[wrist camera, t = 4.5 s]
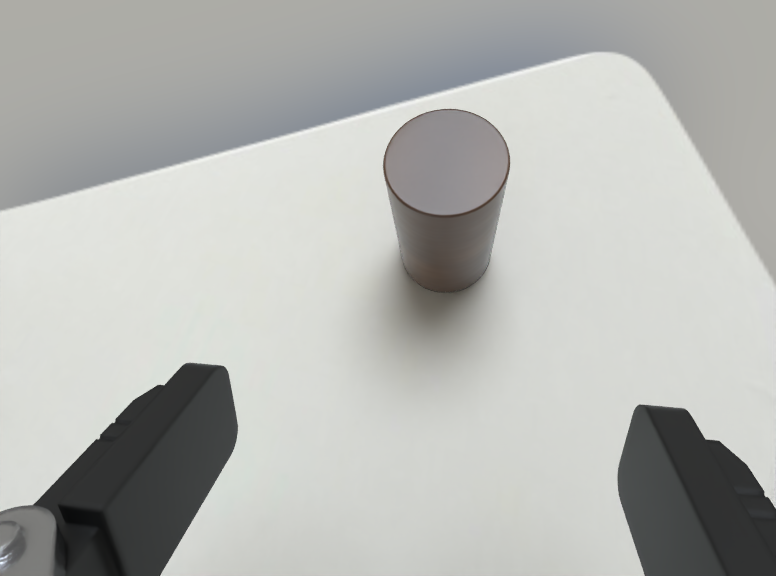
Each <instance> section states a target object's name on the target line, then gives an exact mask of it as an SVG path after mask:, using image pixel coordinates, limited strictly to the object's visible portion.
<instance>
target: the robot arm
mask: <svg viewBox="0 0 776 576" xmlns="http://www.w3.org/2000/svg"><path fill="white" fill-rule="evenodd" d="M237 433H238V424H237V417H236V412H235V406H234V401H233V395H232V390H231V384H230V379H229V374H228V371H227V369H226V368H225V367H224V366H220V365H208V364H197V363H186V364H184V365H183V366H182V367H181V368H180V369H179V370H178V371H177V372H176V373H175V374H174V375H173V377H172V378H171V379H170V380H169V381H168V382H167V383H166V384H165V385H157V386H156V387H154V388H153V389H151V390H149V391H148V392H146V393H144V394H143V395H141V396H140V397H138V398H136V399H135V400H133V401H132V402H131V403H130V405H129V406H128V407H127V408H126V409H125V410H124V411H123V412H122V413H121V414H120V415H119V416H118V417H117V418H116V421H115V423H111V424H110V425H109V426H108V428H107V429H106V430H105V431H104V432H103V433H102V434H101V435H100V439H99V440H98V439H96V440H95V441H94V442H93V443H92V444H91V445H90V446H89V447H88V448H87V450H86V451H85V452H84V453H83V454H82V455H81V456H80V457H79V458H78V459H77V460H76V461H75V462H74V463H73V464H72V465H71V466H70V467H69V468H68V469H67V470H66V471H65V473H64V474H63V475H62V476H61V477H60V478H59V479H58V480H57V481H56V482H55V483H54V484H53V485H52V486H51V487H50V488H49V489H48V490H47V491H46V492H45V493H44V494H43V496H42V497H41V498H40V499H39V500H38V501H37V502H36V503H35V504H34V505H29V506H20V507H14V508H11V509H7V510H4V511H2V512H0V576H160V575H161V573H162V571H163V569H164V568H165V566H166V564H167V563H168V561H169V559H170V558H171V556H172V554H173V553H174V551H175V549H176V547H177V546H178V544H179V542H180V541H181V539H182V537H183V536H184V534H185V532H186V530H187V529H188V527H189V525H190V524H191V522H192V520H193V519H194V517H195V515H196V513H197V512H198V510H199V508H200V507H201V505H202V503H203V502H204V500H205V498H206V496H207V495H208V493H209V491H210V490H211V488H212V486H213V485H214V483H215V481H216V480H217V478H218V476H219V474H220V473H221V471H222V469H223V468H224V466H225V464H226V463H227V461H228V459H229V457H230V456H231V454H232V452H233V449H234V447H235V443H236V439H237ZM618 491H619V496H620V501H621V504H622V507H623V510H624V513H625V516H626V519H627V522H628V525H629V528H630V531H631V534H632V537H633V540H634V544H635V547H636V550H637V553H638V556H639V559H640V562H641V565H642V568H643V571H644V574H645V576H776V509H775V507H774V506H773V504H772V503H771V501H770V499H769V498H768V497H765V496H764V490H763V489H762V487H761V486H760V484H759V483H758V481H757V480H756V478H755V477H754V475H753V474H752V472H751V471H750V469H749V468H748V466H747V465H746V464H745V463H744V462H743V461H742V460H741V459H739V458H738V457H737V456H736V455H735V454H734V453H732V452H731V451H730V450H729V449H728V448H727V447H725V446H724V445H723V444H722V443H721V442H720V441H715V440H705V438H704V437H703V435H702V433H701V431H700V430H699V428H698V426H697V425H696V423H695V421H694V420H693V418H692V416H691V415H690V413H689V412H688V411H687V410H686V409H683V408H673V407H662V406H651V405H638V406H637V407H636V408H635V410H634V413H633V416H632V420H631V423H630V427H629V430H628V434H627V438H626V441H625V445H624V449H623V452H622V456H621V459H620V463H619V468H618Z"/></svg>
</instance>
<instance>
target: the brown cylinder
mask: <svg viewBox="0 0 776 576" xmlns="http://www.w3.org/2000/svg"><path fill="white" fill-rule="evenodd" d="M383 170H384V177H385V181H386V186H387V191H388V195H389V200H390V205H391V209H392V214H393V218H394V223H395V228H396V232H397V237H398V241H399V246H400V251H401V255H402V260H403V264H404V266H405V269H406V270H407V272H408V274H409V275H410V276H411V278H412V279H413V280H414V281H416V282H417V283H418V284H419V285H421V286H423V287H425V288H427V289H429V290H432V291H436V292H455V291H459V290H462V289H465V288H467V287H469V286H471V285H472V284H473V283H475V282H476V281H477V280H478V279H479V278H480V277H481V276H482V275H483V273H484V272H485V270H486V268H487V266H488V264H489V260H490V256H491V251H492V247H493V242H494V238H495V233H496V229H497V224H498V220H499V215H500V211H501V206H502V202H503V197H504V193H505V188H506V184H507V179H508V175H509V170H510V155H509V150H508V147H507V144H506V142H505V140H504V138H503V137H502V135H501V134H500V132H499V131H498V130H497V129H496V128H495V127H494V126H493V125H492V124H491V123H490V122H488V121H487V120H486V119H484V118H482V117H480V116H478V115H476V114H474V113H471V112H467V111H463V110H457V109H441V110H434V111H430V112H426V113H424V114H421V115H419V116H417V117H415V118H413V119H411V120H410V121H408V122H407V123H405V124H404V125H403V126H402V127H401V128H400V129H399V130H398V131H397V132H396V133H395V134H394V136H393V137H392V139H391V140H390V142H389V144H388V146H387V149H386V152H385V155H384V161H383Z"/></svg>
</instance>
